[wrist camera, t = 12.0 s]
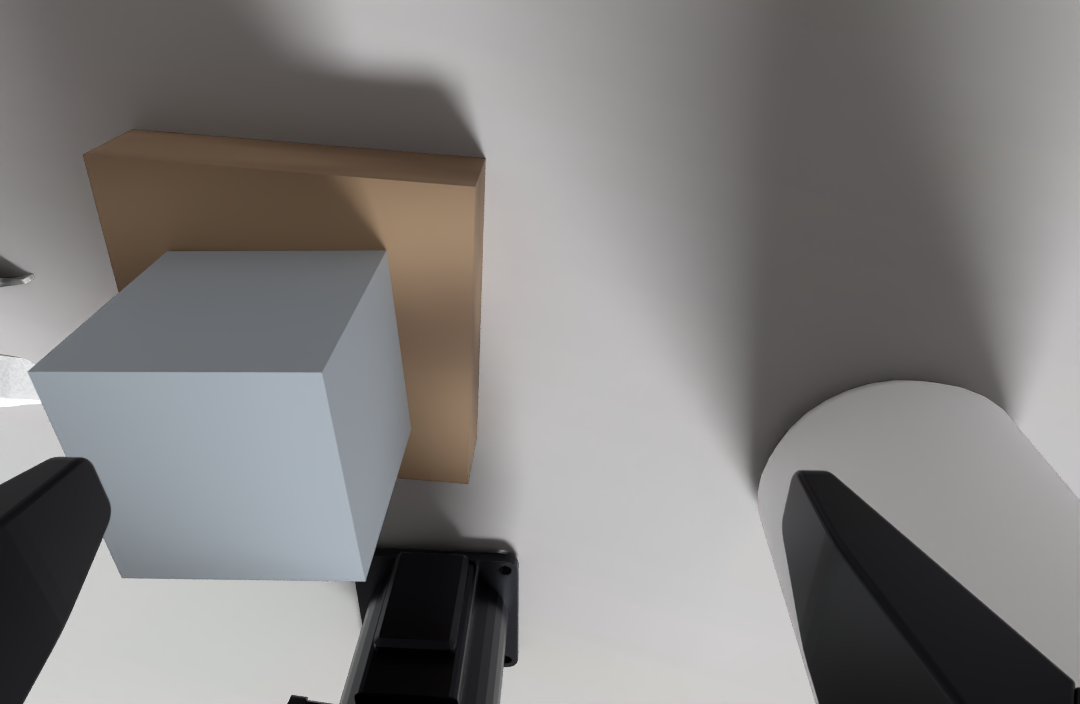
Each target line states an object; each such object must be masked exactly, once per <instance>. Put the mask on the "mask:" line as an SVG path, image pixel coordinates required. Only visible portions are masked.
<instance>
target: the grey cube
mask: <svg viewBox="0 0 1080 704" xmlns="http://www.w3.org/2000/svg"><path fill="white" fill-rule="evenodd" d="M27 372H28V374H29V377H30V379H31V381H32V383H33V385H34V388H35V390H36V392H37V394H38V396H39V398H40V401H41V403H42V405H43V407H44V409H45V412H46V414H47V416H48V418H49V420H50V422H51V425H52V427H53V429H54V431H55V433H56V436H57V438H58V440H59V442H60V444H61V446H62V449H63V451H64V453H65V455H66V457H83V458H86V459H88V460H89V461H90V462H91V463H92V464H93V465H94V467H95V469H96V472H97V474H98V476H99V478H100V481H101V483H102V485H103V487H104V489H105V492H106V494H107V496H108V498H109V501H110V504H111V517H110V521H109V524H108V527H107V529H106V531H105V534H104V536H103V538H104V540H105V542H106V545H107V547H108V549H109V551H110V553H111V555H112V558H113V560H114V562H115V564H116V566H117V569H118V571H119V573H120V575H121V577H122V578H149V579H220V580H291V581H362V582H365V581H366V578H367V575H368V571H369V568H370V565H371V561H372V558H373V555H374V551H375V548H376V545H377V541H378V538H379V535H380V531H381V528H382V525H383V521H384V518H385V515H386V511H387V508H388V505H389V502H390V498H391V495H392V492H393V488H394V485H395V482H396V478H397V475H398V472H399V468H400V465H401V462H402V458H403V455H404V452H405V448H406V445H407V442H408V438H409V435H410V432H411V423H410V416H409V409H408V402H407V394H406V387H405V380H404V373H403V365H402V358H401V351H400V344H399V337H398V329H397V322H396V315H395V308H394V301H393V293H392V286H391V279H390V272H389V264H388V257H387V250H354V251H167V252H166V253H165V254H163V255H162V256H161V257H160V258H159V259H158V260H156V261H155V262H154V263H153V264H152V265H151V266H149V267H148V268H147V269H146V270H145V271H144V272H142V273H141V274H140V275H139V276H138V277H137V278H136V279H134V280H133V281H132V282H131V283H130V284H129V285H127V286H126V287H125V288H124V289H123V290H122V291H120V292H119V293H118V294H117V295H116V296H115V297H113V298H112V299H111V300H110V301H109V302H108V303H106V304H105V305H104V306H103V307H102V308H101V309H100V310H98V311H97V312H96V313H95V314H94V315H93V316H91V317H90V318H89V319H88V320H87V321H86V322H84V323H83V324H82V325H81V326H80V327H79V328H77V329H76V330H75V331H74V332H73V333H72V334H70V335H69V336H68V337H67V338H66V339H65V340H63V341H62V342H61V343H60V344H59V345H58V346H57V347H55V348H54V349H53V350H52V351H51V352H50V353H48V354H47V355H46V356H45V357H44V358H43V359H41V360H40V361H39V362H38V363H37V364H36V365H34V366H33V367H32V368H31V369H30V370H29V371H27Z"/></svg>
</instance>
